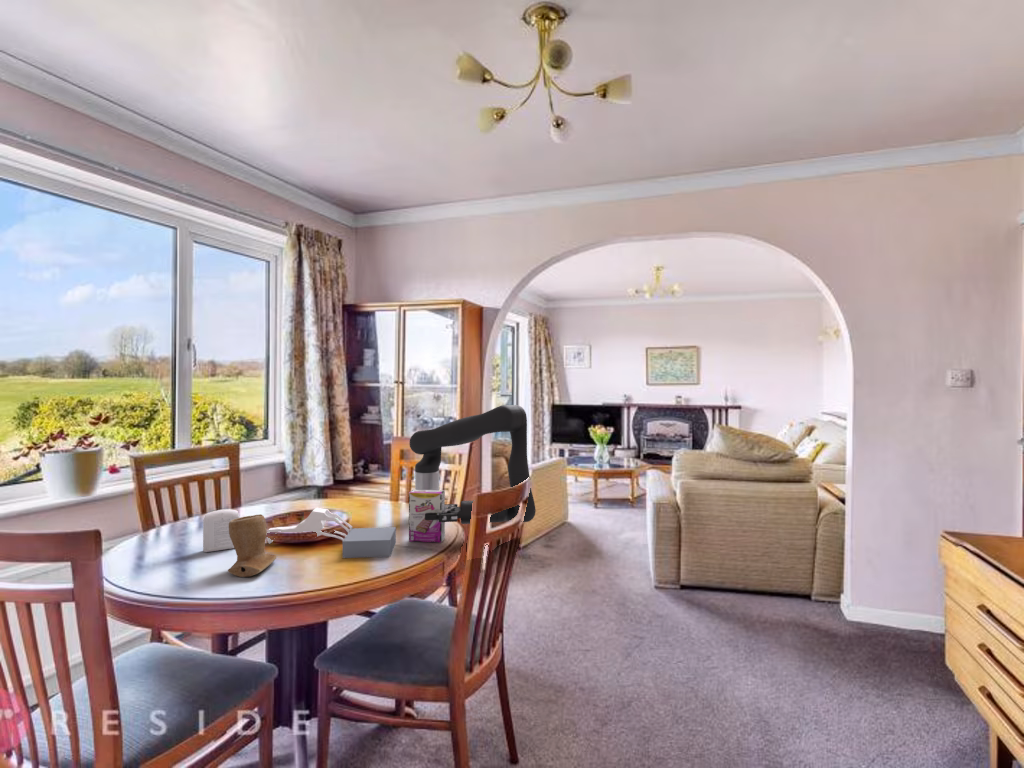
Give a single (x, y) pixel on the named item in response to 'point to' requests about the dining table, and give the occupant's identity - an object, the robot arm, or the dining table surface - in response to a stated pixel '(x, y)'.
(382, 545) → the slate block
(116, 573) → the dining table surface
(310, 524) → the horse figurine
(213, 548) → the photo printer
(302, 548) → the dining table surface
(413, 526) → the candy bar box
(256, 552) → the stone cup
